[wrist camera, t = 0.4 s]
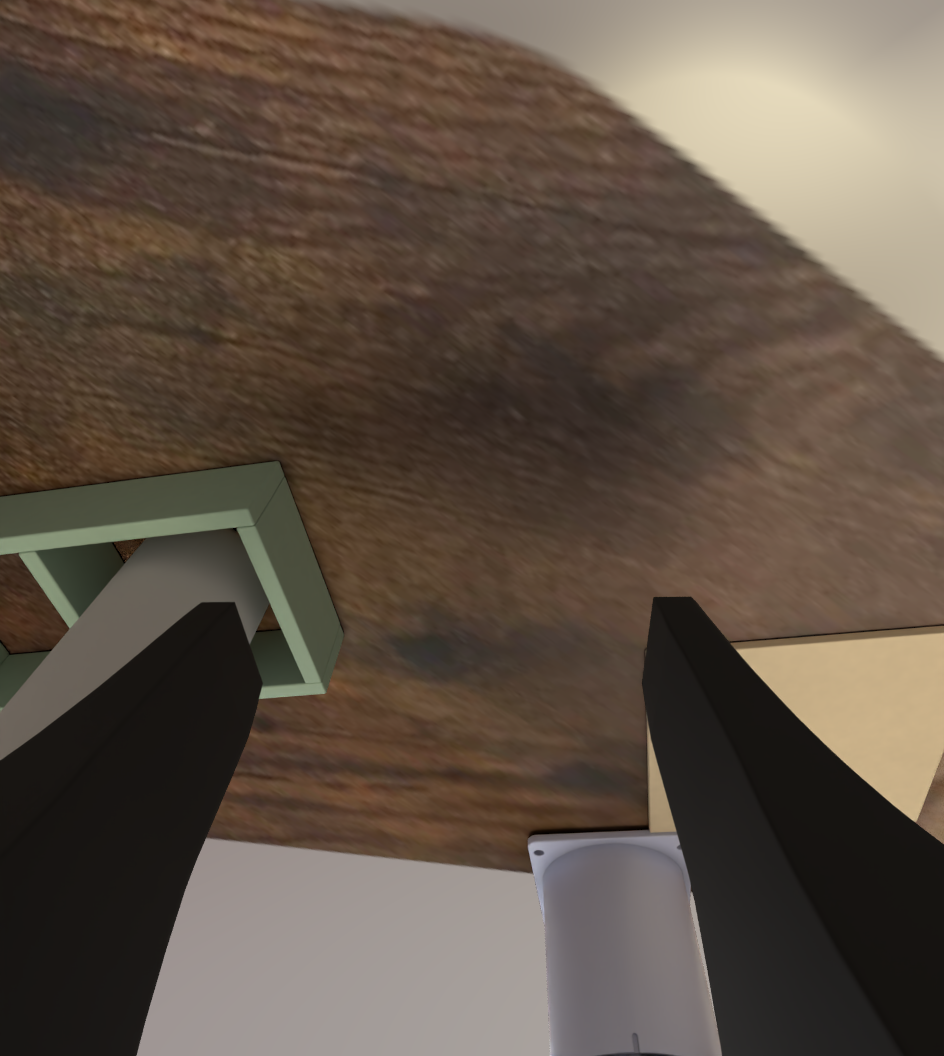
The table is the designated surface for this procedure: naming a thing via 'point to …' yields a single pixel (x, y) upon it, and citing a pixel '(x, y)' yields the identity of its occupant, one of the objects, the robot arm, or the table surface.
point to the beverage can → (134, 621)
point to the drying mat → (853, 707)
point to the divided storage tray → (167, 509)
